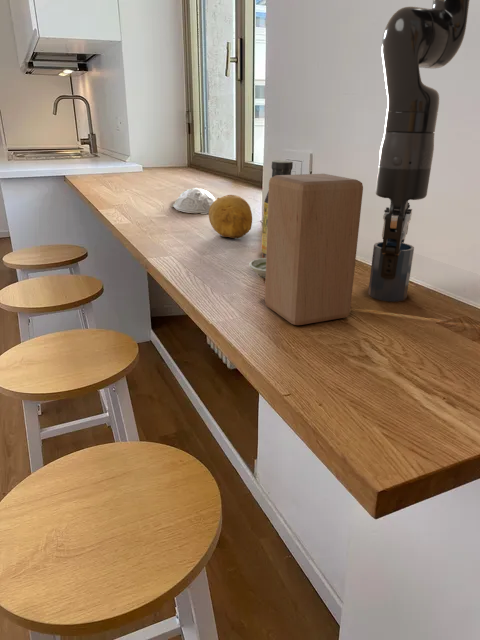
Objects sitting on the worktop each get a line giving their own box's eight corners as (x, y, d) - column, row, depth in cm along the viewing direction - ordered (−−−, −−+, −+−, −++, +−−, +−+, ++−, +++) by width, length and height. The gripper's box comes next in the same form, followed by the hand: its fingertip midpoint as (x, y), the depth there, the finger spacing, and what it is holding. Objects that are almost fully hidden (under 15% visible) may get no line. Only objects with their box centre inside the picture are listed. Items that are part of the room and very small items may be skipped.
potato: (223, 243, 116) (223, 200, 113) (202, 232, 127) (202, 192, 123) (261, 239, 121) (262, 197, 117) (238, 229, 131) (239, 190, 127)
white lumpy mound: (217, 199, 174) (215, 179, 171) (223, 216, 151) (221, 194, 148) (173, 204, 173) (170, 184, 170) (173, 221, 150) (170, 199, 147)
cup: (407, 296, 83) (415, 243, 80) (404, 308, 78) (413, 252, 75) (370, 291, 85) (376, 240, 82) (365, 302, 80) (371, 248, 77)
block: (293, 328, 70) (302, 182, 62) (262, 305, 78) (266, 174, 71) (352, 318, 74) (367, 180, 66) (316, 297, 82) (325, 172, 74)
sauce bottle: (256, 257, 105) (259, 159, 98) (282, 254, 107) (287, 159, 100) (269, 265, 100) (273, 162, 92) (297, 262, 102) (303, 161, 94)
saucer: (286, 266, 99) (286, 254, 98) (309, 280, 90) (310, 268, 90) (241, 271, 96) (241, 259, 95) (261, 286, 87) (261, 273, 86)
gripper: (430, 170, 66) (411, 288, 73) (432, 162, 79) (416, 264, 85) (372, 167, 69) (359, 282, 75) (383, 160, 81) (371, 259, 88)
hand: (389, 272), depth 80 cm, fingers closed on cup, 6 cm apart
